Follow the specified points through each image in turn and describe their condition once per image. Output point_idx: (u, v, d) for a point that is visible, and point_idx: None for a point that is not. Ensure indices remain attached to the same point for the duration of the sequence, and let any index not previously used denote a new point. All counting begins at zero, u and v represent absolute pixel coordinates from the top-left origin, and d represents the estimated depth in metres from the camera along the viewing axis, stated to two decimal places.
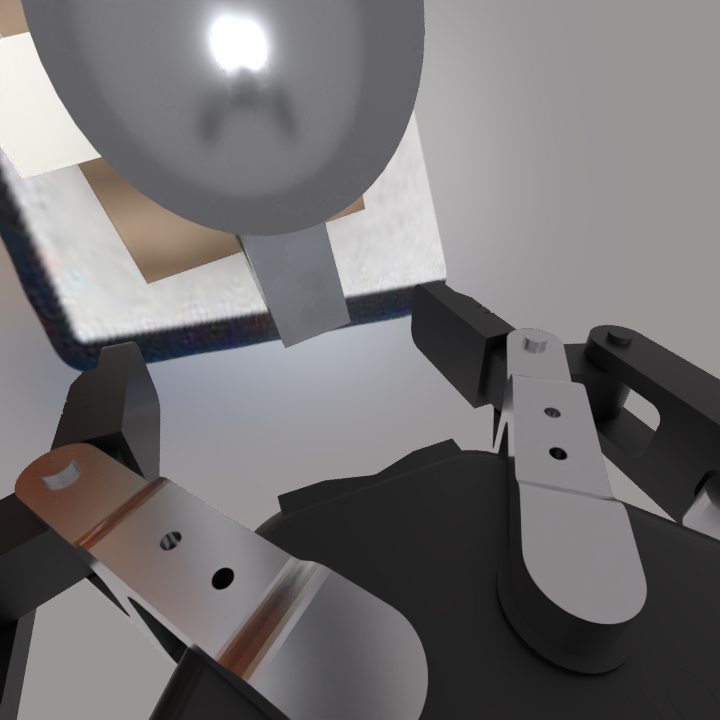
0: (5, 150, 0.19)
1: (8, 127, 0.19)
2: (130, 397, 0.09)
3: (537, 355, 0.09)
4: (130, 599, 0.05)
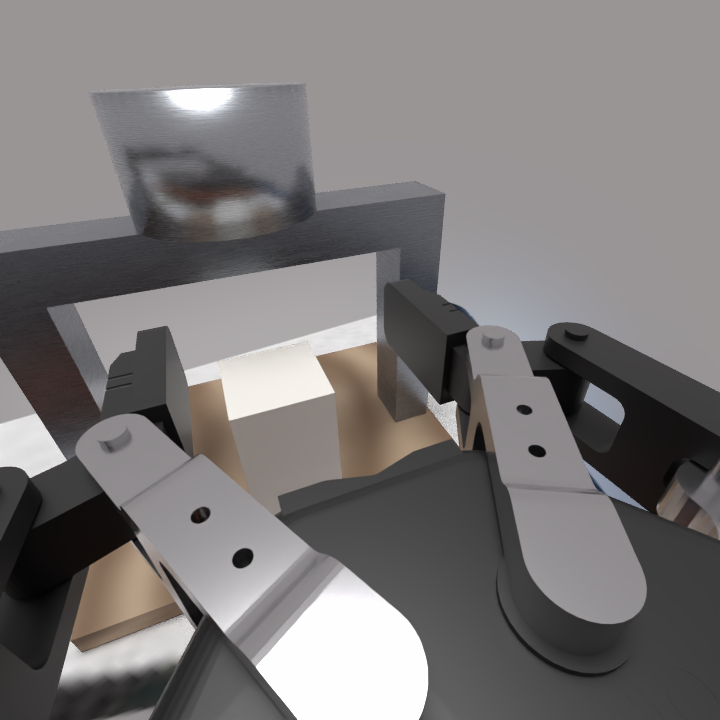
0: (309, 398, 0.20)
1: (289, 394, 0.20)
2: (169, 375, 0.09)
3: (493, 351, 0.09)
4: (161, 564, 0.06)
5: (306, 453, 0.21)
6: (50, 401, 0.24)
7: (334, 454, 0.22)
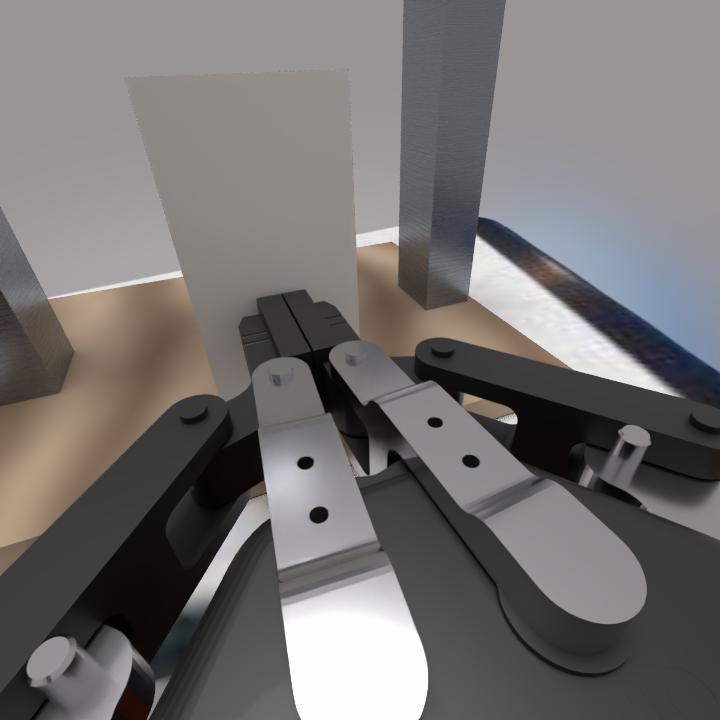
0: (297, 71, 0.10)
1: None
2: None
3: (350, 369, 0.09)
4: None
5: (294, 224, 0.11)
6: None
7: (346, 241, 0.12)
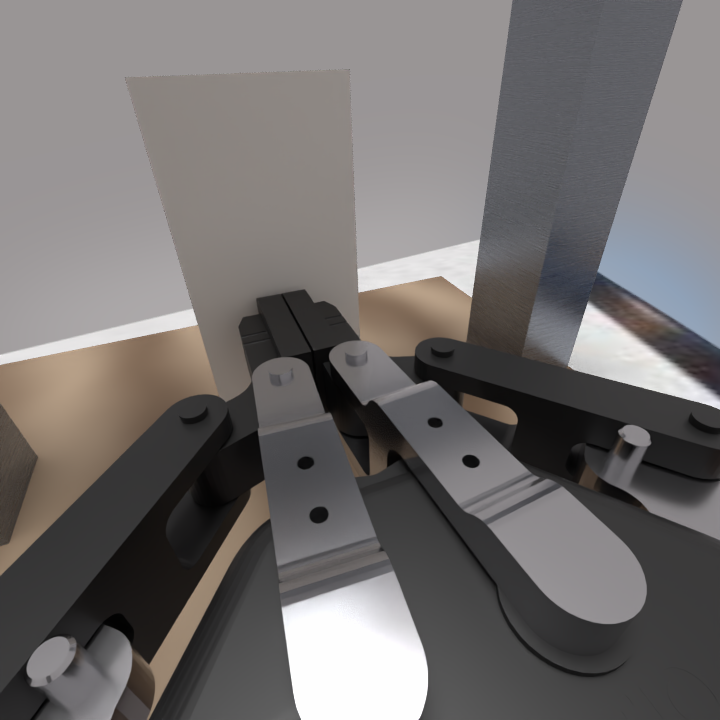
0: (298, 71, 0.10)
1: None
2: None
3: (350, 369, 0.09)
4: None
5: (295, 225, 0.11)
6: None
7: (346, 241, 0.12)
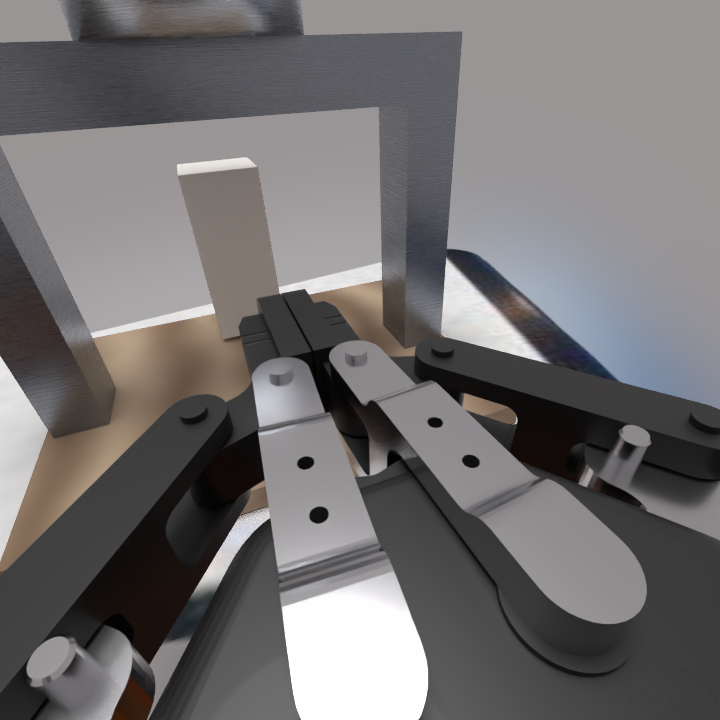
0: (238, 168, 0.27)
1: (224, 168, 0.27)
2: None
3: (350, 369, 0.09)
4: None
5: (241, 224, 0.29)
6: None
7: (264, 231, 0.29)
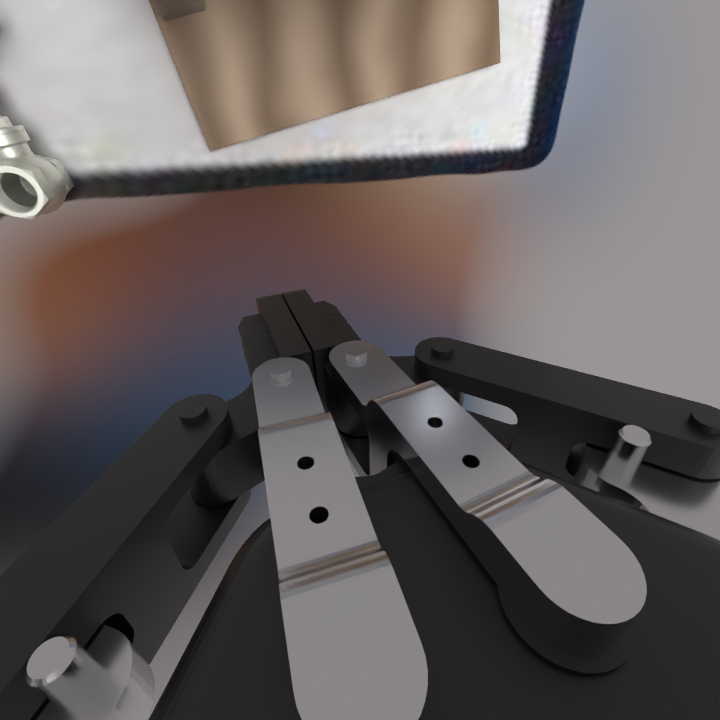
0: None
1: None
2: None
3: (350, 369, 0.09)
4: None
5: None
6: None
7: None
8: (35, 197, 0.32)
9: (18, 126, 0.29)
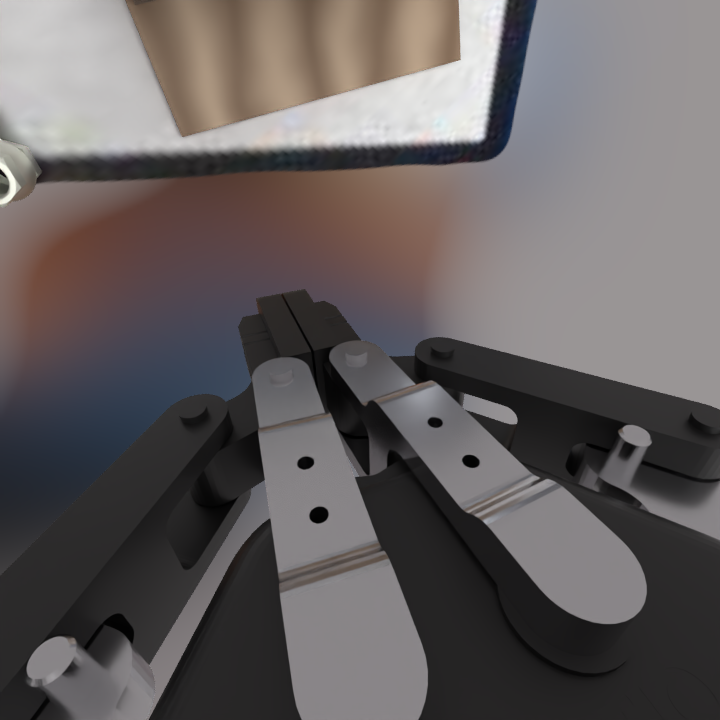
0: None
1: None
2: None
3: (350, 369, 0.09)
4: None
5: None
6: None
7: None
8: (2, 183, 0.32)
9: None
